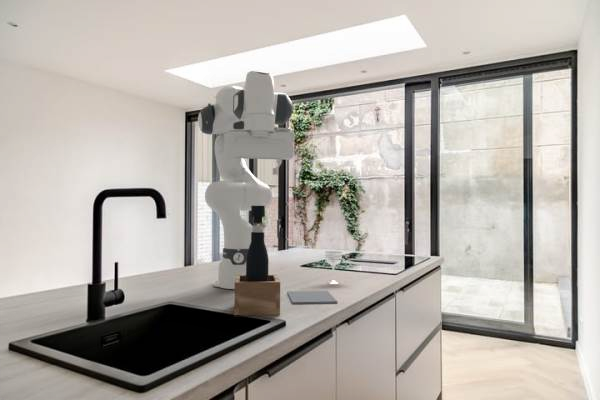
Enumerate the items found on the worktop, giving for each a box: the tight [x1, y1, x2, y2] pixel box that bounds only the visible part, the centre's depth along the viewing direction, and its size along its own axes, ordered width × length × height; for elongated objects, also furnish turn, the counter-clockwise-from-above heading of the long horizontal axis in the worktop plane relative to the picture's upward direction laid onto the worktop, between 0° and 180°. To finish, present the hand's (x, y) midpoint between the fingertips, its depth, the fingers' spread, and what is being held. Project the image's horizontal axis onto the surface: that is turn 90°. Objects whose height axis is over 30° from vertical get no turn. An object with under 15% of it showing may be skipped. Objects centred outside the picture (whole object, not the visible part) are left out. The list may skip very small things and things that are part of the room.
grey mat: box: [287, 290, 338, 305], centre depth 135 cm, size 16×14×1 cm
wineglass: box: [324, 250, 343, 284], centre depth 163 cm, size 7×7×12 cm
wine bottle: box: [246, 206, 270, 282], centre depth 119 cm, size 6×6×30 cm
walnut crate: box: [233, 274, 281, 317], centre depth 119 cm, size 12×12×9 cm
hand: (258, 174), depth 119 cm, fingers open, 8 cm apart
